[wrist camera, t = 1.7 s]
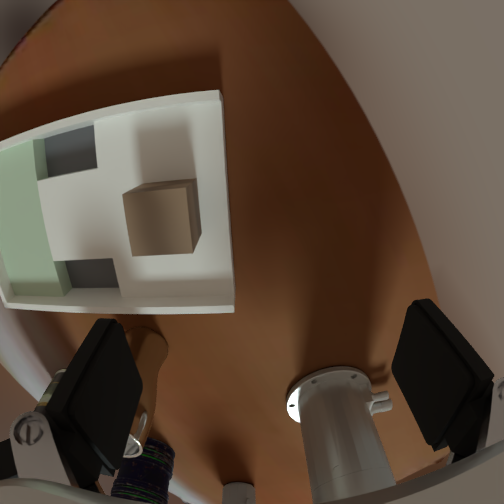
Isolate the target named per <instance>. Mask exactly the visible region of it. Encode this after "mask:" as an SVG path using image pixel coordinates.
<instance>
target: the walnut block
mask: <svg viewBox="0 0 504 504" xmlns="http://www.w3.org/2000/svg"><path fill="white" fill-rule="evenodd" d="M122 198H123V205H124V212H125V218H126V225H127V231H128V236H129V242H130V247H131V253H132V257H134V256H153V255H173V254H193V252H194V250H195V248H196V245H197V243H198V241H199V238H200V236H201V234H202V229H201V219H200V208H199V197H198V186H197V178H194V179H182V180H172V181H162V182H152V183H144V184H141V185H139V186H137V187H135V188H133V189H131V190H129V191H127V192H125V193H124V194H122Z"/></svg>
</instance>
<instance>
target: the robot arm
mask: <svg viewBox="0 0 504 504" xmlns="http://www.w3.org/2000/svg"><path fill="white" fill-rule="evenodd" d="M391 368H392V373H393V375H394V377H395V379H396V381H397V383H398V385H399V387H400V389H401V391H402V393H403V395H404V397H405V399H406V401H407V403H408V405H409V407H410V409H411V411H412V413H413V415H414V417H415V420H416V422H417V424H418V426H419V428H420V430H421V432H422V434H423V437H424V439H425V441H426V443H427V444H428V445H431V446H432V448H433V450H434V452H435V451H437V450H440V449H442V448H445V447H447V446H449V448H450V454H449V457H448V460H447V463H446V466H445V467H443V468H441V469H439V470H436V471H434V472H431V473H429V474H426V475H424V476H421V477H418V478H415V479H412V480H410V481H407V482H404V483H401V484H397V485H396V482H395V479H394V476H393V473H392V470H391V468H390V465H389V462H388V459H387V456H386V453H385V451H384V448H383V445H382V442H381V440H380V437H379V434H378V431H377V429H376V426H375V423H374V421H373V418H372V415H373V413H377V412H384V411H388V410H391V409H392V401H391V399H390V398H389V394H388V391H382V392H378V393H375V394H373V393H372V392H371V383H370V381H369V378H368V377H367V375H366V374H365V373H364V372H362V371H361V370H359V369H356V368H353V367H347V366H338V367H330V368H326V369H322V370H319V371H316V372H314V373H312V374H310V375H308V376H306V377H304V378H303V379H301V380H300V381H298V382H297V383H296V384H295V385H294V386H293V387H292V389H291V390H290V391H289V393H288V395H287V398H286V408H287V412H288V414H289V415H290V417H291V418H293V419H294V420H295V421H297V422H299V423H300V425H301V431H302V437H303V443H304V449H305V455H306V461H307V468H308V474H309V480H310V486H311V493H312V499H313V504H504V377H502V378H500V379H498V380H497V381H496V383H495V384H494V383H493V381H492V379H493V377H494V374H493V373H492V371H491V370H490V369H489V367H488V366H487V365H486V363H485V362H484V361H483V360H482V358H481V357H480V356H479V355H478V354H477V352H476V351H475V350H474V349H473V347H472V346H471V345H470V344H469V343H468V341H467V340H466V339H465V338H464V337H463V335H462V334H461V333H460V332H459V331H458V329H457V328H455V326H454V325H453V324H452V323H451V322H450V320H449V319H448V318H447V317H446V316H445V315H444V314H443V312H442V311H441V310H440V309H439V308H438V307H437V306H436V305H435V304H434V303H433V301H432V300H430V299H421V300H415V301H413V302H412V304H411V305H410V306H409V307H408V309H407V312H406V316H405V320H404V324H403V328H402V331H401V335H400V339H399V342H398V346H397V349H396V352H395V355H394V359H393V362H392V367H391ZM142 391H143V382H142V379H141V376H140V374H139V371H138V369H137V366H136V363H135V361H134V358H133V355H132V353H131V350H130V347H129V344H128V341H127V338H126V336H125V333H124V330H123V327H122V325H121V324H120V323H117V321H116V320H115V319H104V318H100V319H98V320H97V321H96V322H95V324H94V325H93V327H92V328H91V330H90V332H89V333H88V335H87V336H86V338H85V340H84V341H83V343H82V344H81V346H80V348H79V349H78V351H77V353H76V354H75V356H74V357H73V359H72V361H71V363H70V364H69V366H68V368H67V369H66V371H65V373H64V374H63V376H62V378H61V380H60V382H59V383H58V385H57V387H56V389H55V390H54V392H53V394H52V396H51V398H50V400H49V401H48V403H47V405H46V407H45V410H46V412H45V414H44V416H43V415H42V414H41V413H38V412H31V411H30V412H26V413H24V414H22V415H20V416H19V417H17V418H16V419H15V420H14V422H13V424H12V425H11V429H10V438H9V439H7V440H5V441H2V442H0V504H151V503H144V502H139V501H133V500H127V499H122V498H117V497H113V496H108V495H105V493H104V491H103V489H102V488H101V486H100V484H99V482H98V478H99V475H100V474H103V475H108V476H112V477H114V473H115V470H118V469H119V468H120V466H121V463H122V459H123V456H124V452H125V448H126V445H127V441H128V438H129V434H130V431H131V427H132V424H133V420H134V417H135V414H136V410H137V407H138V404H139V400H140V397H141V394H142ZM376 401H377V402H376Z"/></svg>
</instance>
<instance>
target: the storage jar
mask: <svg viewBox="0 0 504 504" xmlns="http://www.w3.org/2000/svg"><path fill="white" fill-rule="evenodd" d="M174 458H175V452H174V451H173V449H172V448H171V447H169V446H168V445H166V444H165V443H163V442H161V441H158V440H156V439H152V438H149V437H147V440H146V442H145V445H144V448H143V452H142V454H141V455H139V456H137V457H133V458H126V457H123V459H122V463H121V466H120V468H119V472H118V476H117V479H115V481H114V483H113V487H112V490H111V496H113V497H117V498H122V499H127V500H133V501H139V502H144V503H151V504H168V500H169V498H168V494H167V493H168V486H169V480H170V479H171V478H172V475H173V474H172V472H173V467H174Z"/></svg>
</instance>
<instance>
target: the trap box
mask: <svg viewBox="0 0 504 504" xmlns="http://www.w3.org/2000/svg"><path fill="white" fill-rule="evenodd" d="M194 178H197V186H198V197H199V208H200V219H201V229H202V234H201V236H200V238H199V241H198V243H197V245H196V248H195V250H194V252H193V254H173V255H153V256H134V257H132V253H131V247H130V242H129V236H128V231H127V225H126V218H125V212H124V205H123V198H122V194H124V193H125V192H127V191H129V190H131V189H133V188H135V187H137V186H139V185H141V184H144V183H152V182H162V181H172V180H182V179H194ZM235 291H236V289H235V276H234V263H233V250H232V236H231V222H230V207H229V192H228V176H227V159H226V142H225V124H224V104H223V96H222V94H221V92H220V91H219V90H210V91H200V92H191V93H183V94H175V95H168V96H162V97H156V98H150V99H144V100H139V101H133V102H128V103H124V104H119V105H114V106H110V107H106V108H101V109H97V110H93V111H90V112H86V113H82V114H78V115H75V116H71V117H68V118H65V119H61V120H58V121H55V122H52V123H49V124H46V125H43V126H40V127H37V128H34V129H31V130H29V131H26V132H23V133H21V134H18V135H16V136H13V137H11V138H8V139H6V140H3V141H1V142H0V295H1V298H2V301H3V303H4V306H5V308H13V309H25V310H40V311H56V312H77V313H106V314H203V313H234V308H235Z"/></svg>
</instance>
